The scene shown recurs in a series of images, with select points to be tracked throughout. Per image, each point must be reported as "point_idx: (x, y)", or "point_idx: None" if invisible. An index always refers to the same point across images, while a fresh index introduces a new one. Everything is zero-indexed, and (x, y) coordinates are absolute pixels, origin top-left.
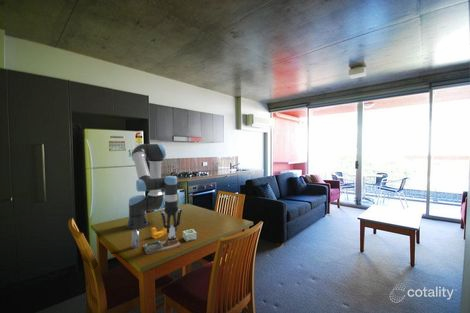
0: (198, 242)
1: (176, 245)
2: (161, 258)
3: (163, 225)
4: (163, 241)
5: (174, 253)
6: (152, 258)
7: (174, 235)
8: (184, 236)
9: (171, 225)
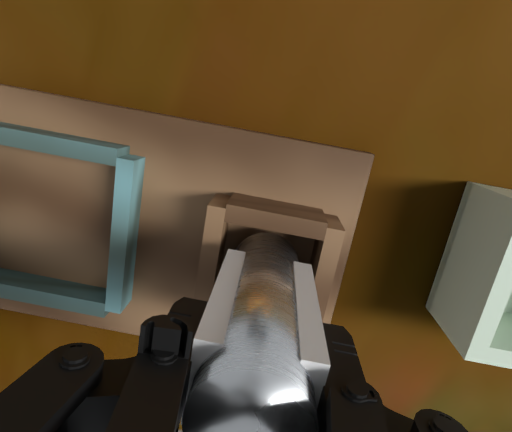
0: (504, 407)
1: None
2: None
3: (30, 376)
4: (200, 151)
5: None
6: (15, 377)
7: None
8: (465, 257)
9: (251, 419)
